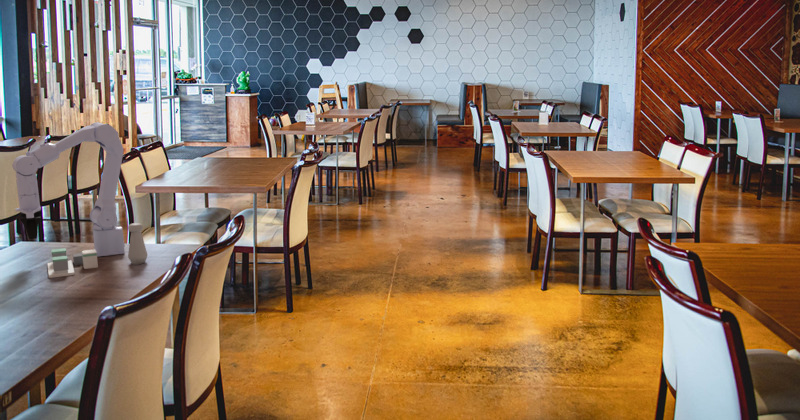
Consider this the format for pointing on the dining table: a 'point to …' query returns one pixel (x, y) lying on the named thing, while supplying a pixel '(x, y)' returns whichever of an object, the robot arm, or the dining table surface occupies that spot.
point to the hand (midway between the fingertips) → (33, 235)
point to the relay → (77, 259)
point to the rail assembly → (60, 264)
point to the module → (89, 259)
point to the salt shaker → (136, 244)
